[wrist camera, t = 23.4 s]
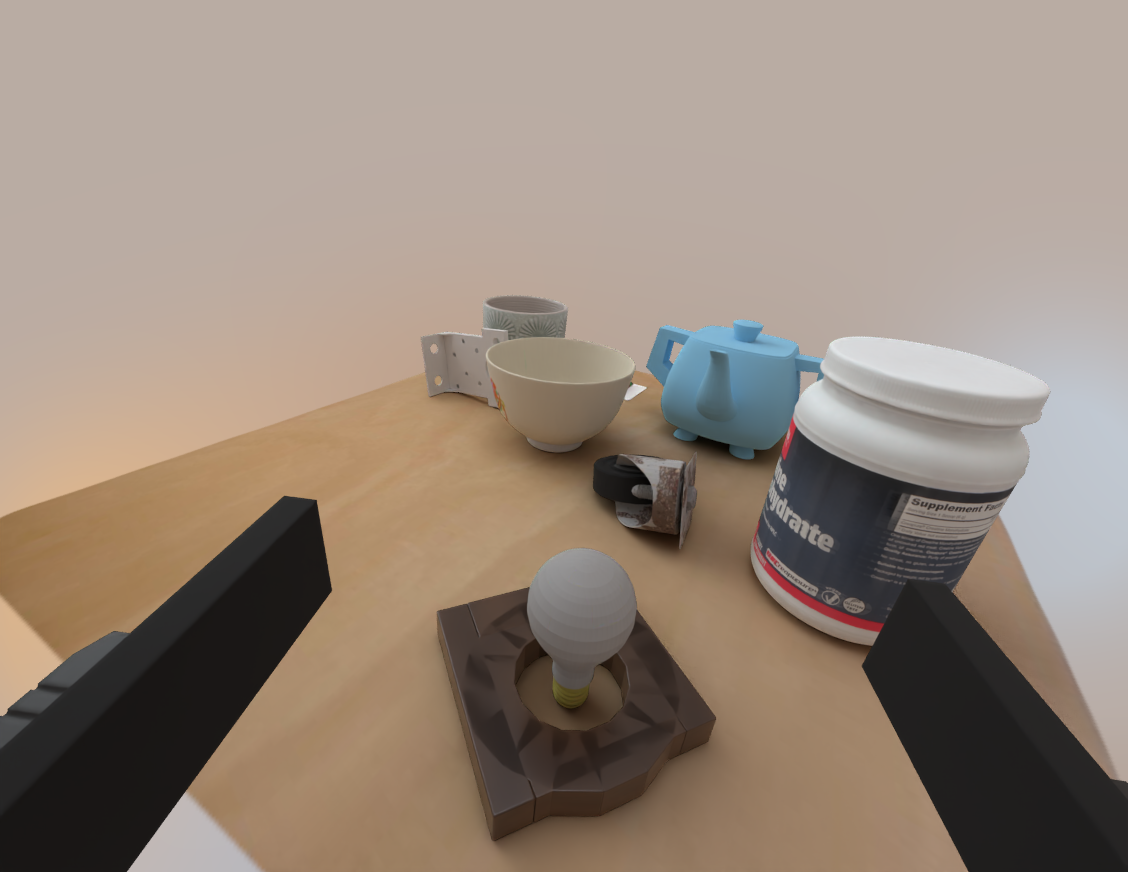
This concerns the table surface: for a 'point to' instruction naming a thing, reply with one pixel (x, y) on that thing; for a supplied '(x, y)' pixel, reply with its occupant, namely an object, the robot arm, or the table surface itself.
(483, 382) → the bracket
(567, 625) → the light bulb
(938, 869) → the table surface
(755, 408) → the teapot
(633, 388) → the white tile
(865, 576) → the supplement tub
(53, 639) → the table surface
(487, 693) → the socket board
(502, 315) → the planter
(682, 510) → the caster wheel
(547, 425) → the bowl
